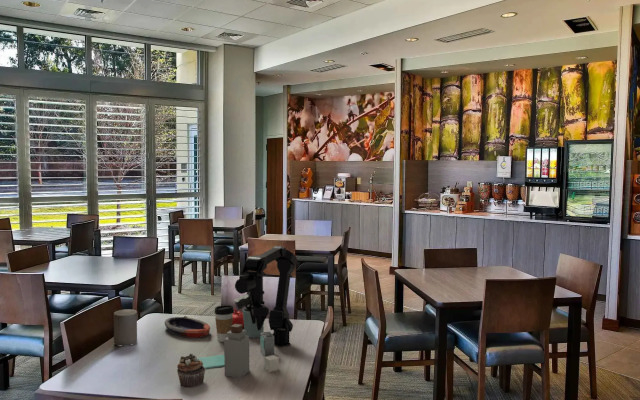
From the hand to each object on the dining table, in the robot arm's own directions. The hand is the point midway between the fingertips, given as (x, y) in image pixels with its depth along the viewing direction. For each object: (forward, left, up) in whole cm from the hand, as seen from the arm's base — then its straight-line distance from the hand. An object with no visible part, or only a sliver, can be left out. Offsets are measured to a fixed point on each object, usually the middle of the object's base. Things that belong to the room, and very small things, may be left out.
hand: (256, 326), depth 206 cm
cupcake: (+27, +15, -13) cm, 34 cm away
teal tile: (+16, -2, -13) cm, 21 cm away
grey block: (-3, +13, -13) cm, 18 cm away
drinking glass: (-7, -30, -13) cm, 34 cm away
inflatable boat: (+21, -45, -13) cm, 52 cm away
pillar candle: (+48, -40, -13) cm, 64 cm away
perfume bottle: (+10, +12, -13) cm, 20 cm away
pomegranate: (-2, -44, -13) cm, 46 cm away
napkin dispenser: (-6, -4, -13) cm, 15 cm away
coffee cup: (+7, -28, -13) cm, 32 cm away
